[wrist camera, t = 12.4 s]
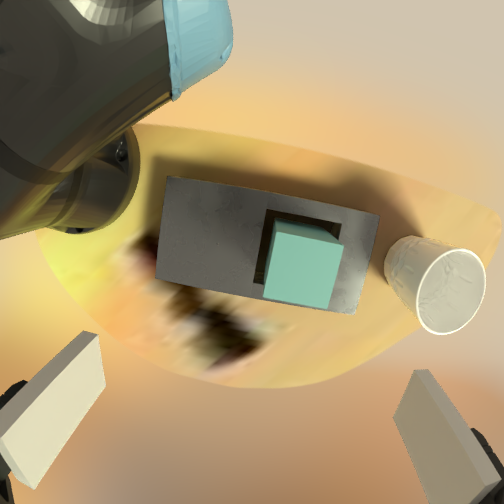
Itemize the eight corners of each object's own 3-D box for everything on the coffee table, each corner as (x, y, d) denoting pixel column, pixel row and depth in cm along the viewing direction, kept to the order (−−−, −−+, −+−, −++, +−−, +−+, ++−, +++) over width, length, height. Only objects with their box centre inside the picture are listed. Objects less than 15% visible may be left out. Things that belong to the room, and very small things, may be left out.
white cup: (395, 218, 31) (440, 233, 21) (447, 245, 31) (497, 266, 21) (367, 284, 32) (400, 322, 23) (420, 305, 33) (460, 343, 23)
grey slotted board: (167, 267, 33) (155, 278, 29) (179, 176, 31) (167, 176, 27) (345, 300, 33) (354, 315, 29) (367, 211, 31) (379, 215, 27)
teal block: (265, 263, 33) (262, 297, 23) (274, 216, 32) (276, 231, 22) (311, 272, 33) (327, 309, 23) (321, 227, 31) (344, 245, 22)
